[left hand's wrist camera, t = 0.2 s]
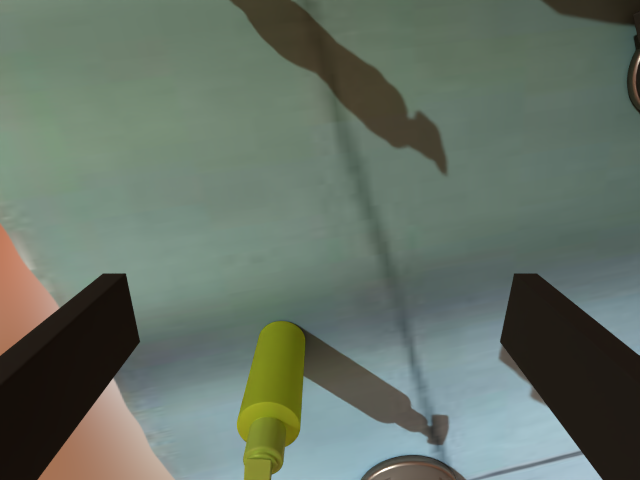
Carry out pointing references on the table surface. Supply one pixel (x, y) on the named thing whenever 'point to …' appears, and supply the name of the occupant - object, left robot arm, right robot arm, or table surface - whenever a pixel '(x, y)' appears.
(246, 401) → the soap dispenser
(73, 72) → the table surface
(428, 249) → the table surface
